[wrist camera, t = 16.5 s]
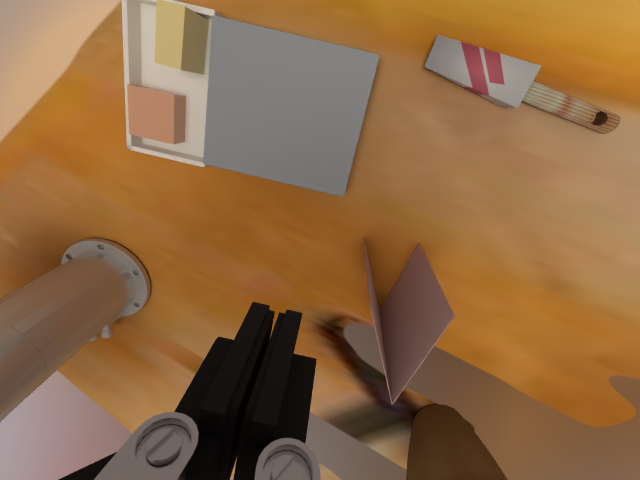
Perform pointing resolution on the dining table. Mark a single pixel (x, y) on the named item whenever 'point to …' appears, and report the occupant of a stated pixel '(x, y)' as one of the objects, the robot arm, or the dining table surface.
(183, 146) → the tray
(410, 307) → the greeting card
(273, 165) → the slate board
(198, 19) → the tile mustard
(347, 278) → the dining table surface
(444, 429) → the plant pot
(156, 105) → the salmon pink block
